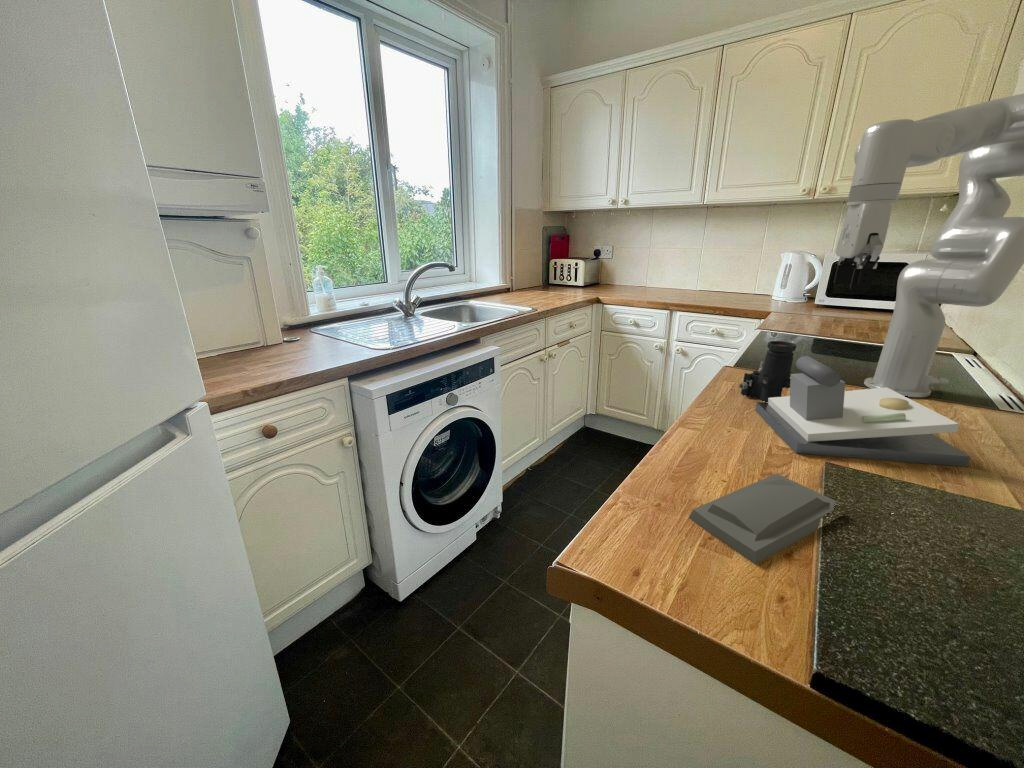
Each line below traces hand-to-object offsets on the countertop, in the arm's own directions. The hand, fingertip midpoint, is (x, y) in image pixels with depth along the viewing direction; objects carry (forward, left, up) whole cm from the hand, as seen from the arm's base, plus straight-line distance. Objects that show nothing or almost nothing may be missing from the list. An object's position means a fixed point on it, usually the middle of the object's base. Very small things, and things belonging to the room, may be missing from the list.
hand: (850, 286), depth 85 cm
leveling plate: (+2, +15, -23) cm, 27 cm away
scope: (+10, -3, -27) cm, 29 cm away
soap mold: (+27, +45, -28) cm, 59 cm away
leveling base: (+2, +15, -27) cm, 31 cm away
